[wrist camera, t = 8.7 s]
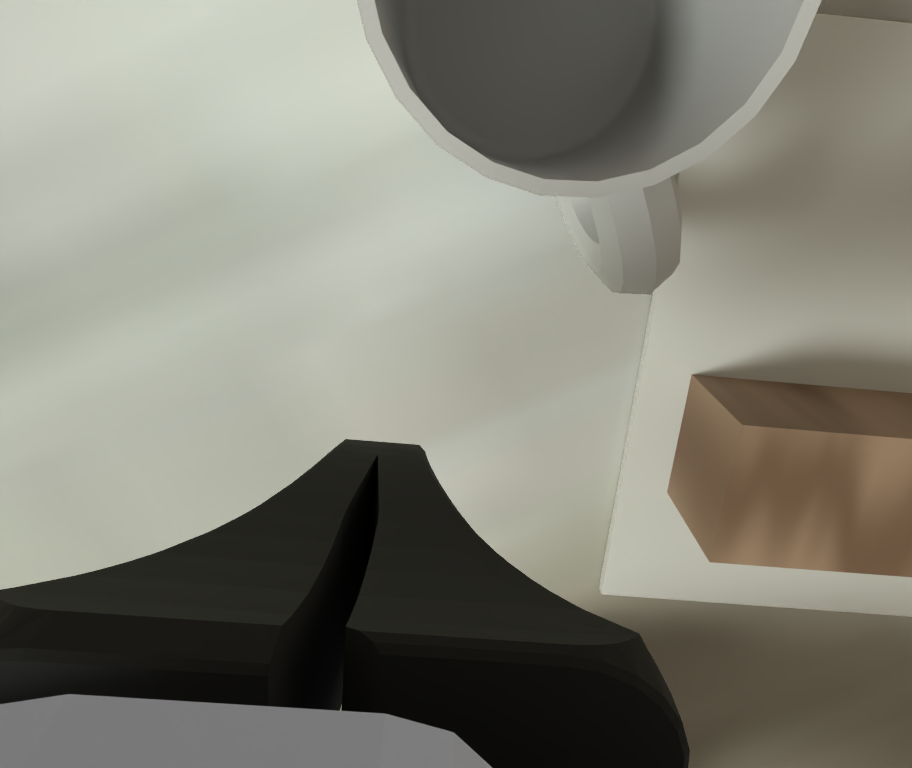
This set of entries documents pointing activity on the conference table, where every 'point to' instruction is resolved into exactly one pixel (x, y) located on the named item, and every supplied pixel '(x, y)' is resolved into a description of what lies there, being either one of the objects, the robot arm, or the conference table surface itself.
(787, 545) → the walnut block
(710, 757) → the conference table surface
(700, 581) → the mat
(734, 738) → the conference table surface
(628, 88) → the cup
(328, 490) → the robot arm
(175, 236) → the conference table surface
